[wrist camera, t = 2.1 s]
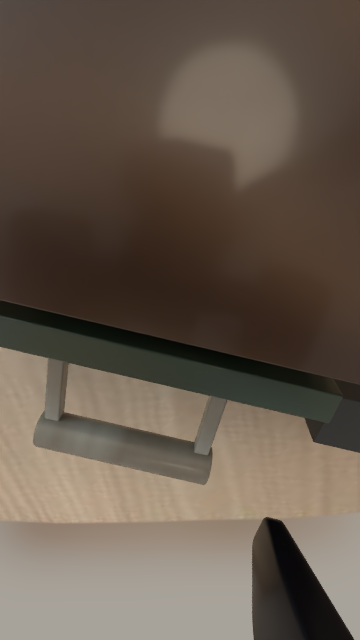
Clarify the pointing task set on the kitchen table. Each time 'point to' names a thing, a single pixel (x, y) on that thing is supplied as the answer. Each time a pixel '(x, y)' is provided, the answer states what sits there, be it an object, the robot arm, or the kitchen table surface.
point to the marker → (341, 421)
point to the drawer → (158, 367)
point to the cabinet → (187, 172)
